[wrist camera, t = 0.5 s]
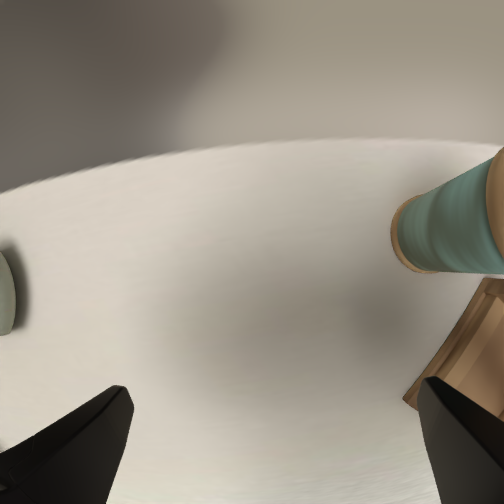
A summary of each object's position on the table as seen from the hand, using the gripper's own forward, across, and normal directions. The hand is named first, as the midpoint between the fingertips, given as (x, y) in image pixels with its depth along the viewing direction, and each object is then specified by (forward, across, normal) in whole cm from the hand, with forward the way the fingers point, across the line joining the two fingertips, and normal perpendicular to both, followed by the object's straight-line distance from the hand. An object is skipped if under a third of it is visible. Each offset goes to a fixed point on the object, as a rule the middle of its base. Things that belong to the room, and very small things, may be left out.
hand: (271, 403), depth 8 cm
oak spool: (+14, -11, 0) cm, 18 cm away
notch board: (+10, -17, +11) cm, 23 cm away
